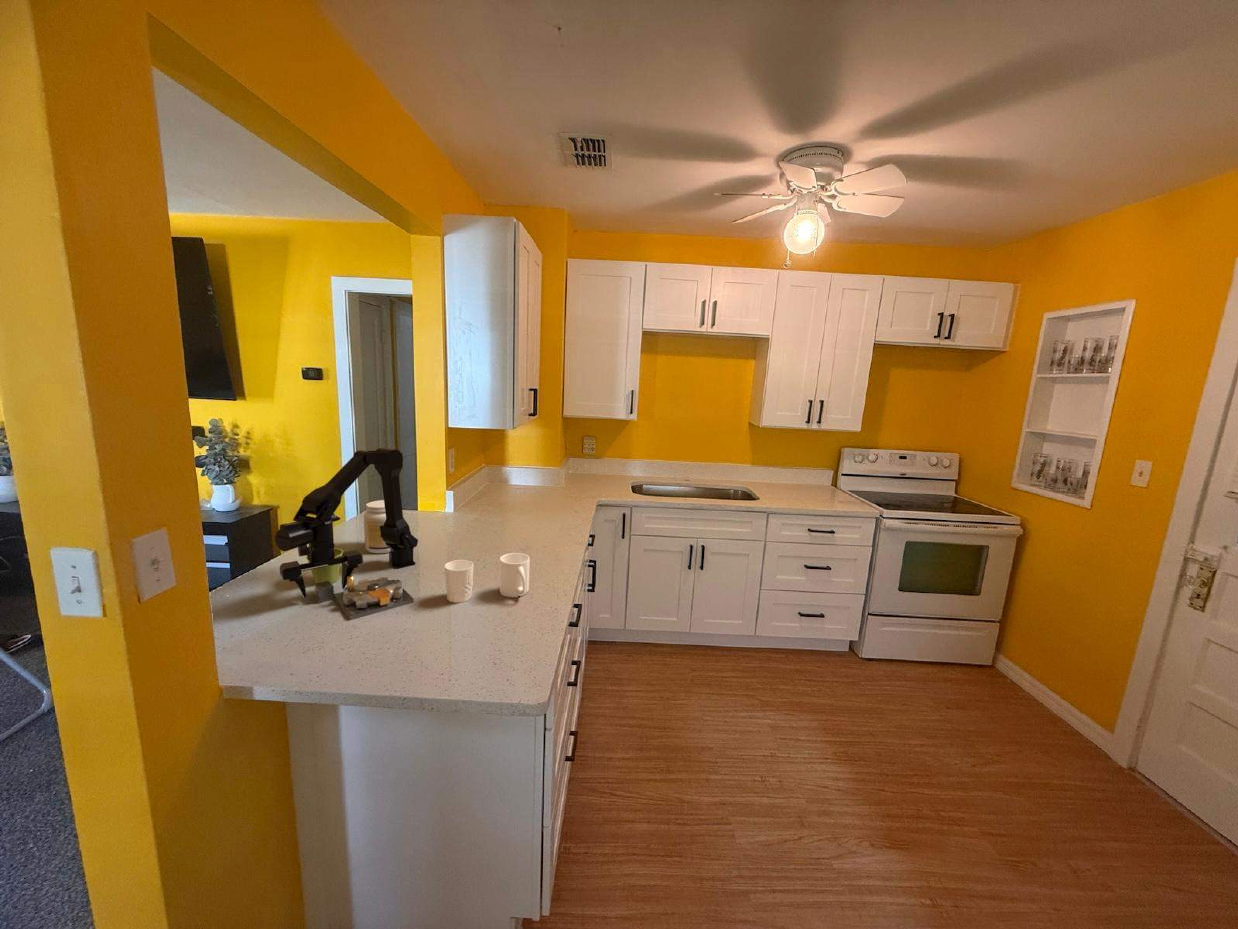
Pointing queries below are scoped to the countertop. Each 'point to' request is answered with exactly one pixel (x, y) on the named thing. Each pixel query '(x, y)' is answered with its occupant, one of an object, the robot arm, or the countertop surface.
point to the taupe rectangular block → (324, 591)
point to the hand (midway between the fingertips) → (324, 592)
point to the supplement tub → (375, 527)
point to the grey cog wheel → (371, 591)
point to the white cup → (459, 580)
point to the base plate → (356, 612)
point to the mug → (514, 574)
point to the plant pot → (327, 570)
